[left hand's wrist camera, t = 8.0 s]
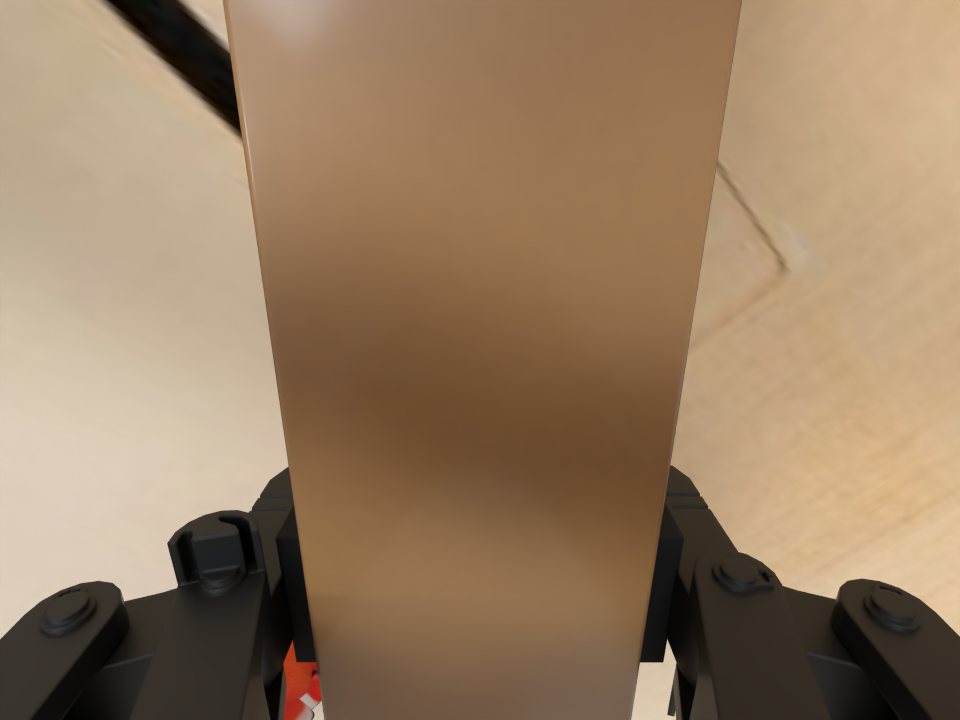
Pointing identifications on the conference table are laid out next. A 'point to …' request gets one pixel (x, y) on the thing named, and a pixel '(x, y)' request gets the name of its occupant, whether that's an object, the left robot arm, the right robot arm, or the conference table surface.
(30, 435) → the conference table surface
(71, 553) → the conference table surface
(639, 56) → the bar
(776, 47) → the conference table surface
